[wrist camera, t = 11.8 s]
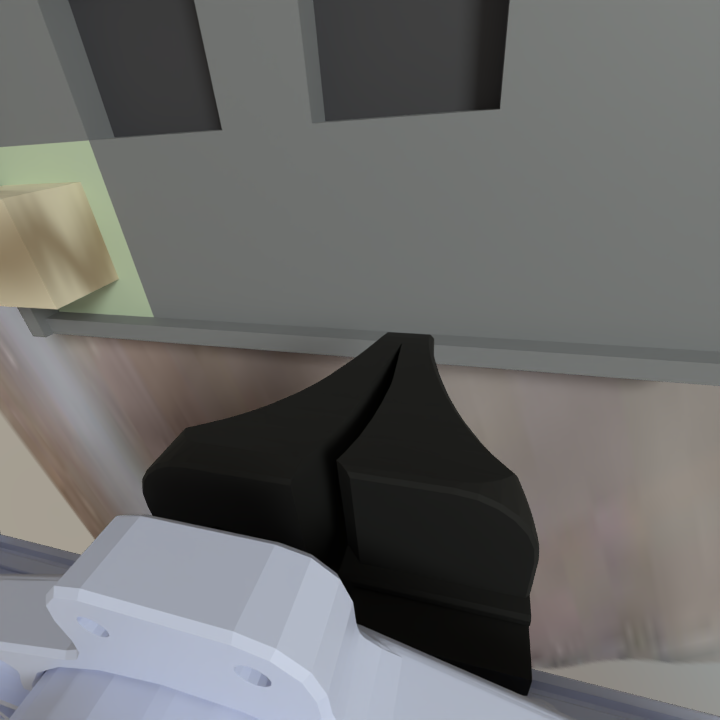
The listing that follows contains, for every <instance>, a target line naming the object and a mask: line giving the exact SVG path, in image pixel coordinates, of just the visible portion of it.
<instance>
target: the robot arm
mask: <svg viewBox="0 0 720 720" xmlns="http://www.w3.org/2000/svg"><path fill="white" fill-rule="evenodd" d="M142 484H143V495H144V497H145V500H146V503H147V506H148V508H149V510H150V511H151V513H152V515H153V516H151V515H120V516H116V517H115V518H114V519H113V520H112V521H111V522H110V523H109V525H108V526H107V527H106V528H105V529H104V530H103V531H102V532H101V533H100V535H99V536H98V537H97V538H96V539H95V540H94V542H92V544H91V545H90V546H89V547H88V548H87V549H86V550H85V552H84V553H83V554H82V555H80V554H76V553H72V552H68V551H64V550H60V549H56V548H53V547H49V546H45V545H41V544H37V543H33V542H29V541H25V540H21V539H17V538H13V537H9V536H5V535H1V534H0V720H720V716H716V715H712V714H708V713H705V712H701V711H696V710H693V709H688V708H685V707H681V706H677V705H673V704H669V703H665V702H661V701H657V700H653V699H649V698H645V697H641V696H637V695H633V694H629V693H626V692H621V691H618V690H614V689H610V688H606V687H602V686H598V685H594V684H590V683H586V682H582V681H578V680H574V679H570V678H566V677H562V676H558V675H554V674H550V673H546V672H543V671H539V670H535V669H532V668H531V654H530V639H529V626H530V623H531V609H530V591H531V587H532V584H533V580H534V576H535V572H536V568H537V564H538V560H539V543H538V537H537V532H536V528H535V524H534V520H533V517H532V514H531V510H530V508H529V505H528V502H527V499H526V496H525V494H524V491H523V489H522V487H521V484H520V482H519V479H518V477H517V476H516V475H515V474H514V473H513V472H512V471H511V470H509V469H508V468H507V467H506V466H505V465H504V464H502V463H501V462H500V461H499V460H498V459H497V458H495V457H494V456H493V455H492V454H491V453H490V452H489V451H488V450H487V449H486V448H485V447H484V446H483V444H482V443H481V442H480V441H479V440H478V439H477V437H476V436H475V435H474V434H473V432H472V431H471V430H470V429H469V427H468V426H467V425H466V424H465V422H464V421H463V419H462V418H461V416H460V415H459V413H458V412H457V410H456V408H455V407H454V405H453V403H452V401H451V400H450V398H449V396H448V394H447V392H446V389H445V387H444V385H443V383H442V380H441V378H440V375H439V372H438V369H437V365H436V362H435V358H434V338H433V337H432V336H431V335H429V334H412V333H396V332H387V333H386V334H385V335H383V336H382V337H381V338H380V339H378V340H377V341H376V342H375V343H373V344H372V345H371V346H370V347H368V348H367V349H366V350H365V351H363V352H362V353H361V354H359V355H358V356H357V357H356V358H354V359H353V360H352V361H350V362H349V363H347V364H346V365H344V366H343V367H341V368H340V369H338V370H337V371H335V372H334V373H332V374H331V375H329V376H328V377H326V378H324V379H323V380H321V381H319V382H318V383H316V384H314V385H312V386H310V387H308V388H306V389H304V390H302V391H300V392H298V393H296V394H294V395H291V396H289V397H287V398H284V399H282V400H280V401H277V402H275V403H273V404H270V405H268V406H265V407H262V408H259V409H256V410H253V411H250V412H247V413H244V414H241V415H238V416H234V417H230V418H227V419H223V420H219V421H214V422H210V423H206V424H202V425H198V426H193V427H188V428H185V429H184V431H183V432H182V433H181V434H180V435H179V436H178V437H177V438H176V439H175V440H174V441H173V442H172V443H171V445H170V446H169V447H168V448H167V449H166V450H165V451H164V452H163V453H162V454H161V455H160V457H159V458H158V459H157V460H156V461H155V462H154V463H153V464H152V465H151V466H150V467H149V469H148V470H147V471H146V473H145V475H144V477H143V479H142Z"/></svg>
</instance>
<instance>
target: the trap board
mask: <svg viewBox="0 0 720 720" xmlns="http://www.w3.org/2000/svg"><path fill="white" fill-rule="evenodd" d="M66 182H81V184H82V187H83V189H84V192H85V194H86V197H87V199H88V202H89V204H90V207H91V209H92V212H93V214H94V217H95V219H96V222H97V225H98V227H99V230H100V232H101V235H102V237H103V240H104V242H105V245H106V247H107V250H108V252H109V255H110V257H111V260H112V262H113V265H114V267H115V270H116V273H117V275H118V278H119V279H118V280H116V281H114V282H112V283H110V284H108V285H106V286H104V287H102V288H100V289H98V290H96V291H94V292H91V293H89V294H87V295H85V296H83V297H81V298H79V299H77V300H75V301H73V302H71V303H69V304H67V305H65V306H63V307H61V308H59V309H42V308H25V307H17V308H18V310H19V312H20V313H21V315H22V317H23V319H24V321H25V322H26V324H27V326H28V328H29V330H30V332H31V333H32V335H33V336H36V337H47V336H49V335H51V334H53V333H54V334H67V335H79V336H92V337H105V338H117V339H130V340H143V341H155V342H168V343H181V344H193V345H206V346H219V347H232V348H244V349H257V350H270V351H282V352H295V353H308V354H320V355H333V356H346V357H357V356H358V355H359V354H361V353H362V352H363V351H365V350H366V349H367V348H368V347H370V346H371V345H372V344H373V343H375V342H376V341H377V340H378V339H380V338H381V337H382V336H383V335H385V334H386V333H387V332H396V333H412V334H429V335H431V336H432V337H433V338H434V358H435V362H436V364H447V365H460V366H472V367H485V368H498V369H510V370H523V371H536V372H548V373H561V374H574V375H587V376H599V377H612V378H625V379H637V380H650V381H663V382H675V383H688V384H701V385H713V386H720V0H0V186H3V185H19V184H43V183H66Z"/></svg>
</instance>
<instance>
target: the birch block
mask: <svg viewBox="0 0 720 720" xmlns="http://www.w3.org/2000/svg"><path fill="white" fill-rule="evenodd" d="M118 279H119V278H118V275H117V273H116V270H115V267H114V265H113V262H112V260H111V257H110V255H109V252H108V250H107V247H106V245H105V242H104V240H103V237H102V235H101V232H100V230H99V227H98V225H97V222H96V219H95V217H94V214H93V212H92V209H91V207H90V204H89V202H88V199H87V197H86V194H85V192H84V189H83V187H82V184H81V182H66V183H43V184H19V185H3V186H0V306H9V307H25V308H42V309H59V308H61V307H63V306H65V305H67V304H69V303H71V302H73V301H75V300H77V299H79V298H81V297H83V296H85V295H87V294H89V293H91V292H94V291H96V290H98V289H100V288H102V287H104V286H106V285H108V284H110V283H112V282H114V281H116V280H118Z"/></svg>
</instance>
